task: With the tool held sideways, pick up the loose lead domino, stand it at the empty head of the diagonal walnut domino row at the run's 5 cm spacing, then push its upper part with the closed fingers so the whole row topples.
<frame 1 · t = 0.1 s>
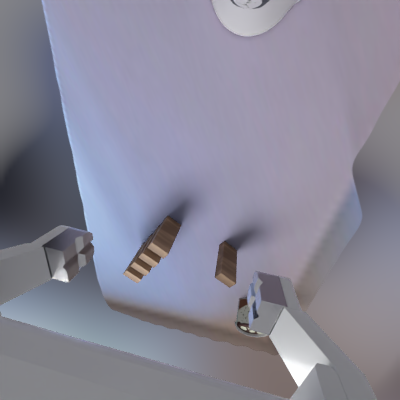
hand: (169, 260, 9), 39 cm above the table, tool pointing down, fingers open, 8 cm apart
food container: (254, 302, 70), on the table
domino 3: (164, 232, 61), on the table
domino 5: (149, 248, 66), on the table
domino 2: (172, 222, 58), on the table
lead domino: (228, 247, 59), on the table
domino 4: (156, 240, 63), on the table
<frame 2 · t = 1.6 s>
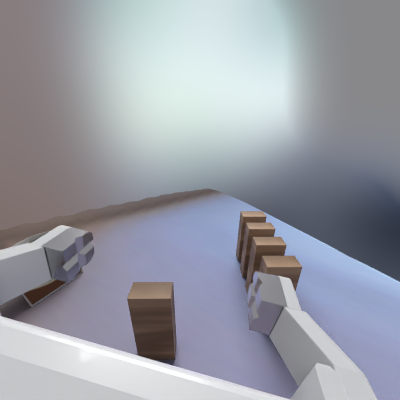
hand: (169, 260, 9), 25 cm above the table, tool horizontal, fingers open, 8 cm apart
food container: (51, 283, 39), on the table
domino 3: (259, 291, 38), on the table
domino 5: (247, 257, 47), on the table
domino 2: (268, 316, 33), on the table
lead domino: (158, 350, 28), on the table
domino 4: (252, 272, 42), on the table
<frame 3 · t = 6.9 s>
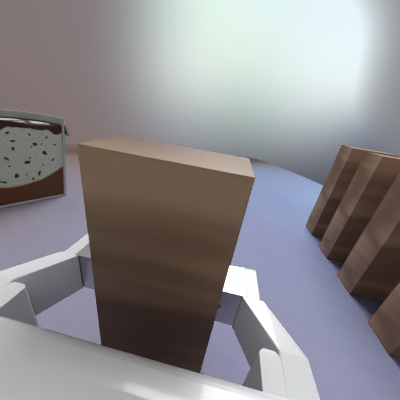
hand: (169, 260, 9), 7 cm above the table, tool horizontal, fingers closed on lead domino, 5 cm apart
food container: (16, 196, 25), on the table
domino 3: (369, 289, 19), on the table
domino 5: (326, 233, 28), on the table
lead domino: (156, 355, 11), on the table, touching gripper
domino 4: (343, 256, 23), on the table
when the fingers open (7 cm above the table, at t = 13.6 s): lead domino stays where it is, on the table.
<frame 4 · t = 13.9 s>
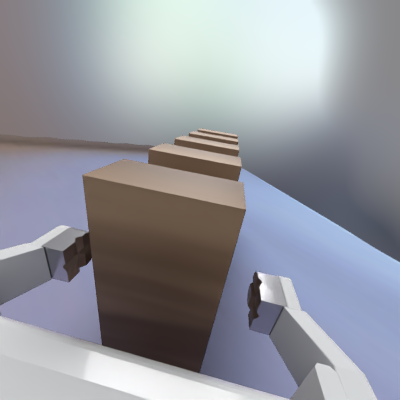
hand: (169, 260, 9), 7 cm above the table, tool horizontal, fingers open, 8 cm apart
domino 3: (190, 255, 21), on the table
domino 2: (177, 295, 16), on the table
lead domino: (155, 363, 12), on the table
domino 4: (198, 230, 25), on the table
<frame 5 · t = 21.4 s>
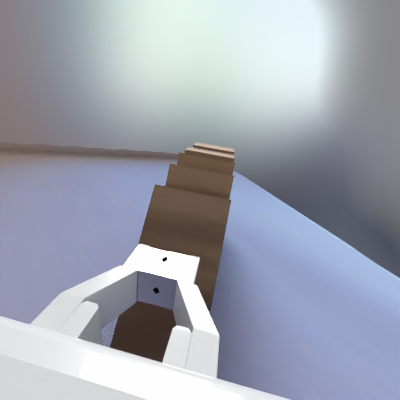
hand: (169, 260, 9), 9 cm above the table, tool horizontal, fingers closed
domino 3: (185, 274, 20), on the table, tilted 15°
domino 2: (172, 317, 15), point 1 cm above the table, tilted 27°
lead domino: (148, 394, 11), point 1 cm above the table, tilted 36°
domino 4: (194, 247, 25), on the table
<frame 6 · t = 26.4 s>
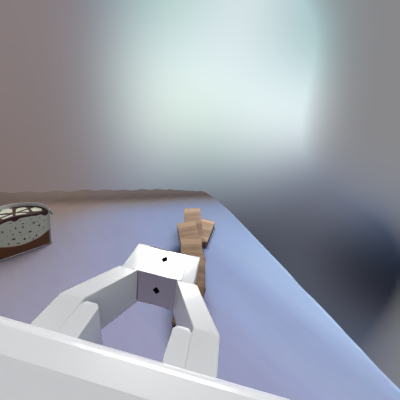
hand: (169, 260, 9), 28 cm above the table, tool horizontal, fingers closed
food container: (23, 246, 46), on the table
domino 3: (195, 265, 46), point 2 cm above the table, tilted 69°, touching domino 2
domino 5: (197, 243, 56), point 1 cm above the table, tilted 90°
domino 2: (192, 292, 40), point 1 cm above the table, tilted 68°, touching domino 3, lead domino
lead domino: (186, 325, 33), point 1 cm above the table, tilted 68°, touching domino 2
domino 4: (194, 244, 53), point 2 cm above the table, tilted 69°
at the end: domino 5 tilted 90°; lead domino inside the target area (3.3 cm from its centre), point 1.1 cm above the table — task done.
